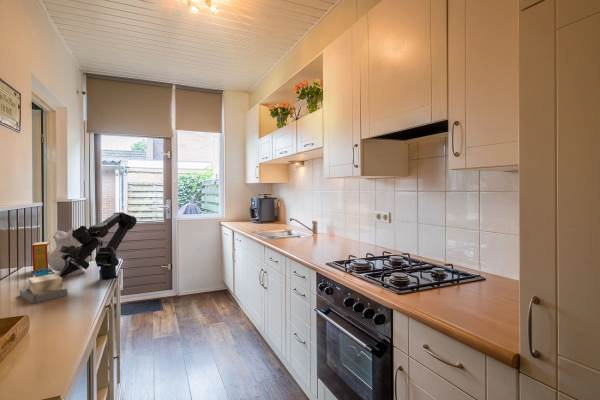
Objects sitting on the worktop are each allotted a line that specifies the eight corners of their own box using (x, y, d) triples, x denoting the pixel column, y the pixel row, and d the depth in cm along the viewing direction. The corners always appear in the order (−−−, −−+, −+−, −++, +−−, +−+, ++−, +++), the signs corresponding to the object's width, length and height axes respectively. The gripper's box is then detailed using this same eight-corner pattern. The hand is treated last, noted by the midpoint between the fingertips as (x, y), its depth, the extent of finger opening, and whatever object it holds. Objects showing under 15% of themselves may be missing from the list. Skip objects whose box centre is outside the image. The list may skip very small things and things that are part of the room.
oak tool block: (57, 289, 149) (56, 273, 149) (62, 294, 142) (61, 277, 141) (29, 295, 142) (28, 278, 141) (33, 300, 134) (32, 283, 134)
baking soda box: (36, 269, 187) (35, 242, 186) (50, 267, 190) (49, 240, 190) (33, 273, 179) (31, 244, 178) (48, 271, 182) (46, 243, 182)
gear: (24, 285, 150) (34, 266, 157) (28, 291, 155) (37, 272, 161) (51, 286, 153) (60, 267, 160) (54, 292, 157) (63, 274, 164)
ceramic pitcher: (99, 274, 178) (101, 229, 179) (58, 280, 162) (60, 230, 162) (80, 269, 190) (82, 227, 190) (40, 275, 173) (42, 228, 174)
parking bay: (53, 288, 151) (53, 282, 151) (67, 295, 140) (67, 289, 140) (19, 295, 141) (19, 289, 141) (31, 303, 130) (31, 297, 130)
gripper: (64, 236, 154) (37, 264, 146) (80, 240, 143) (51, 270, 135) (84, 250, 161) (58, 277, 153) (100, 254, 150) (73, 284, 142)
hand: (60, 276), depth 145 cm, fingers closed
